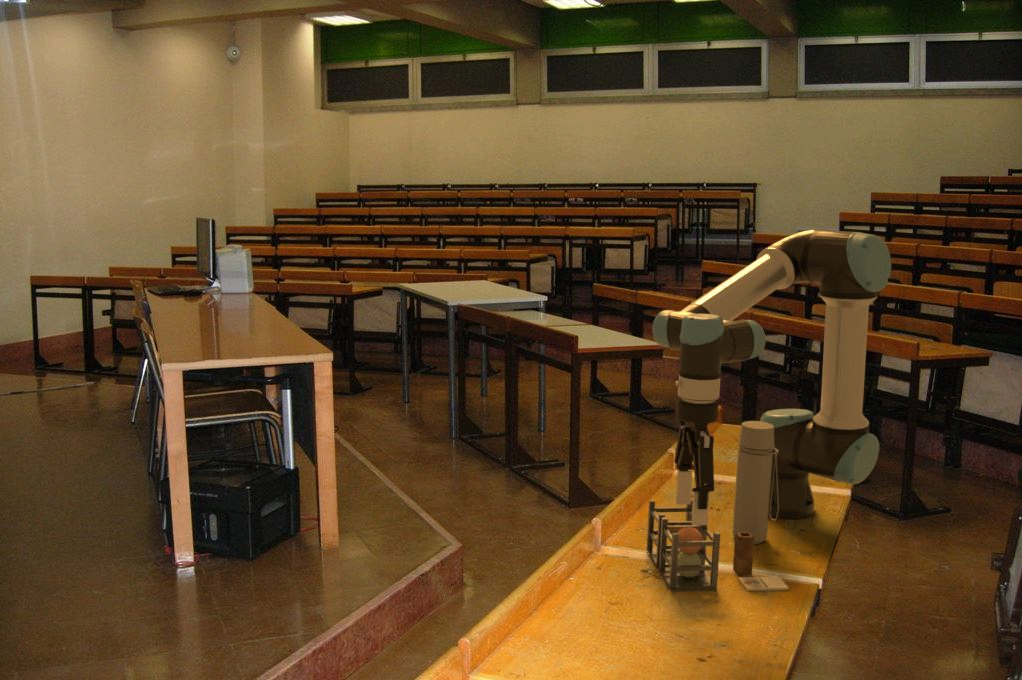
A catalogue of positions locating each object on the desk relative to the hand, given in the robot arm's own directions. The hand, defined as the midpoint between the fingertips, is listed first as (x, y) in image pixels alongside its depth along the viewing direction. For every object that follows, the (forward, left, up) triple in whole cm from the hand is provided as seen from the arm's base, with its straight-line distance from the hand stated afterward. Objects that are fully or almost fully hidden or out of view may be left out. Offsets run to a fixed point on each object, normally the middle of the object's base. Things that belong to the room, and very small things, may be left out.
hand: (691, 513), depth 183 cm
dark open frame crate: (0, 0, -13) cm, 13 cm away
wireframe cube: (0, -10, -13) cm, 17 cm away
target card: (-14, +3, -13) cm, 19 cm away
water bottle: (-20, -19, -13) cm, 31 cm away
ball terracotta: (0, +1, -5) cm, 5 cm away
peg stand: (-12, -3, -13) cm, 18 cm away
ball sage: (0, 0, -10) cm, 10 cm away
